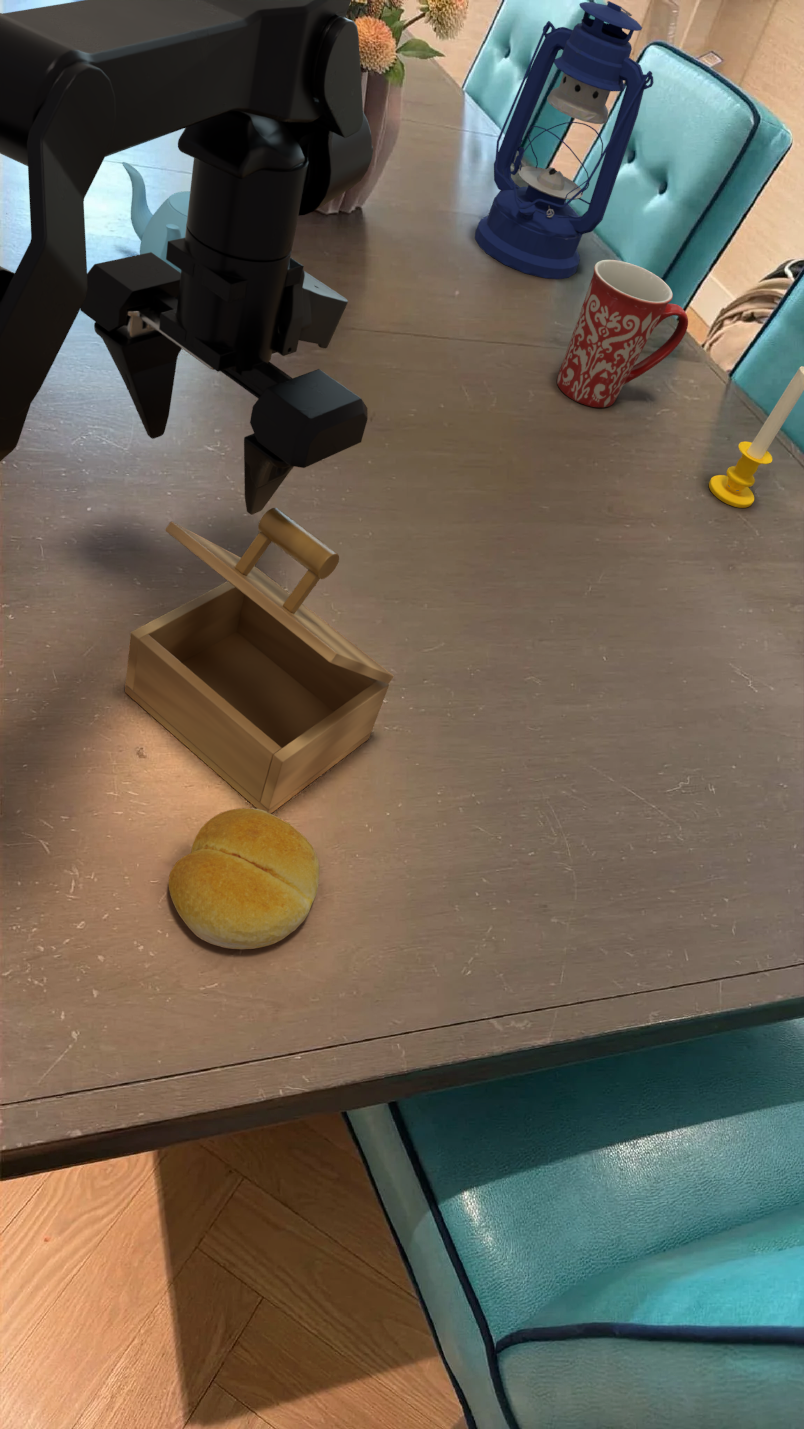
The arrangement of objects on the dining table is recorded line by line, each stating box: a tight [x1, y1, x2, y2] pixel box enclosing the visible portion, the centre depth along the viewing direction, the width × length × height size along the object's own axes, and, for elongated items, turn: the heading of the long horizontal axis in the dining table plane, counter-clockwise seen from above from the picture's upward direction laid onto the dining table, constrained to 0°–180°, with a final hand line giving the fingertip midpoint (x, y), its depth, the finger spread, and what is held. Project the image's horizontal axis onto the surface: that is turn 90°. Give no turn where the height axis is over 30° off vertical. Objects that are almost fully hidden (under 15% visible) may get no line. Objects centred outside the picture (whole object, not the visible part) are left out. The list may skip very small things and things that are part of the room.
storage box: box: [124, 581, 390, 814], centre depth 67 cm, size 11×14×6 cm
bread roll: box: [168, 808, 320, 950], centre depth 59 cm, size 8×9×4 cm
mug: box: [556, 259, 689, 408], centre depth 112 cm, size 13×9×14 cm
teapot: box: [121, 161, 190, 273], centre depth 104 cm, size 13×13×10 cm
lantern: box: [474, 0, 655, 280], centre depth 129 cm, size 17×15×30 cm
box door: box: [164, 507, 395, 685], centre depth 63 cm, size 11×14×5 cm
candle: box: [708, 365, 804, 509], centre depth 104 cm, size 5×5×16 cm
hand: (204, 473), depth 65 cm, fingers open, 9 cm apart
